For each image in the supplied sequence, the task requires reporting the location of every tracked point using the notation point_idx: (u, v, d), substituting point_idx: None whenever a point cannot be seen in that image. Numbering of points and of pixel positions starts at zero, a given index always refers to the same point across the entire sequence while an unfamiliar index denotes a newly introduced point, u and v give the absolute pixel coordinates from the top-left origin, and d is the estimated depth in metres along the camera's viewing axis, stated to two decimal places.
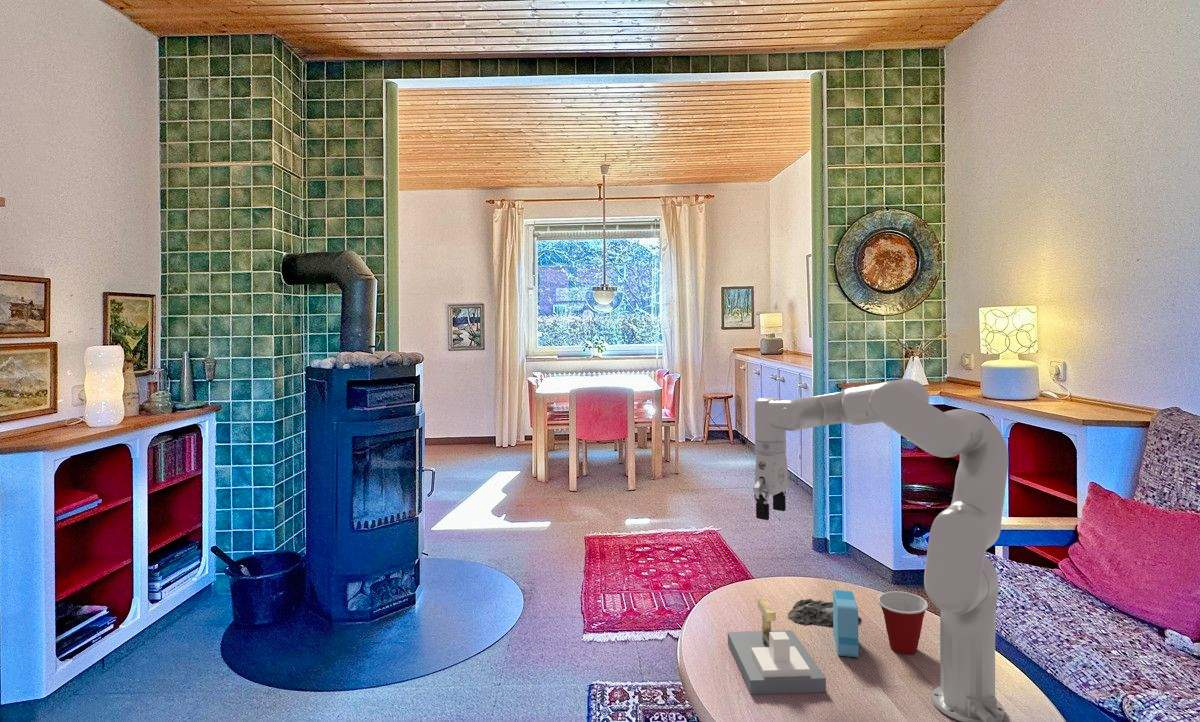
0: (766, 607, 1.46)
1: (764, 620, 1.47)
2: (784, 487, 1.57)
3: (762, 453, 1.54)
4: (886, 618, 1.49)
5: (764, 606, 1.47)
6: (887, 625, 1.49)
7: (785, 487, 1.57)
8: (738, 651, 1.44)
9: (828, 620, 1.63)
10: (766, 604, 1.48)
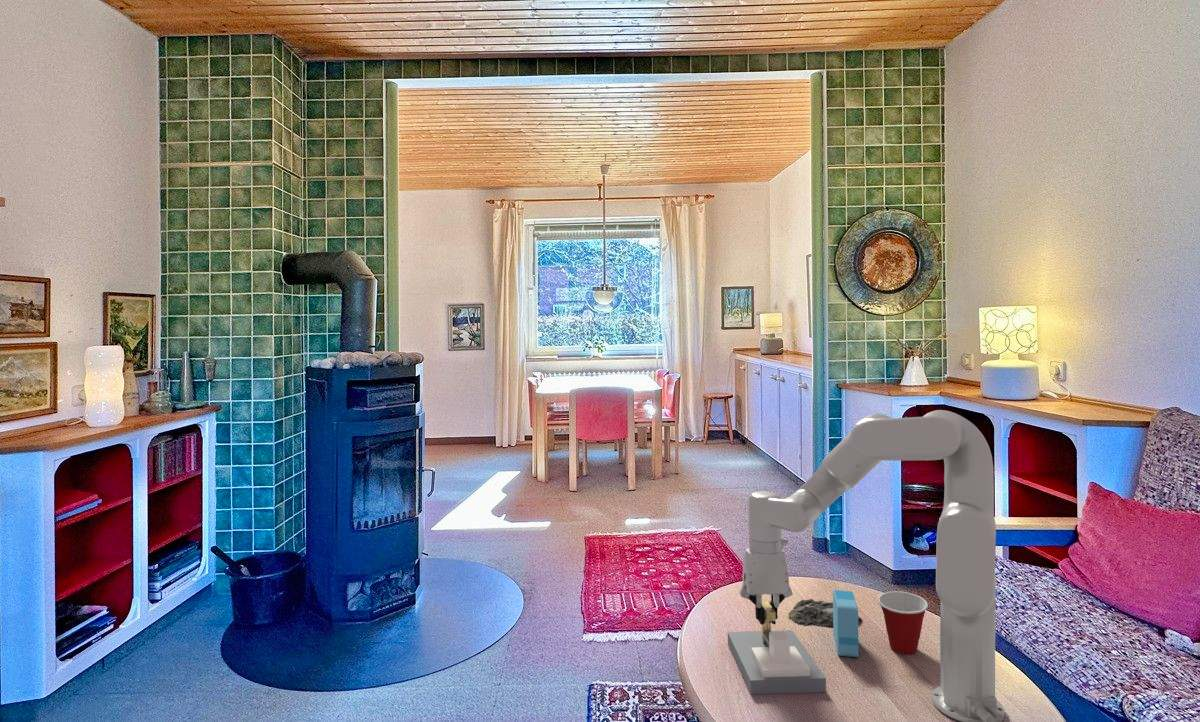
0: (766, 607, 1.46)
1: (764, 620, 1.47)
2: None
3: None
4: (886, 618, 1.49)
5: (764, 606, 1.47)
6: (887, 625, 1.49)
7: None
8: (738, 651, 1.44)
9: (828, 621, 1.63)
10: (766, 604, 1.48)
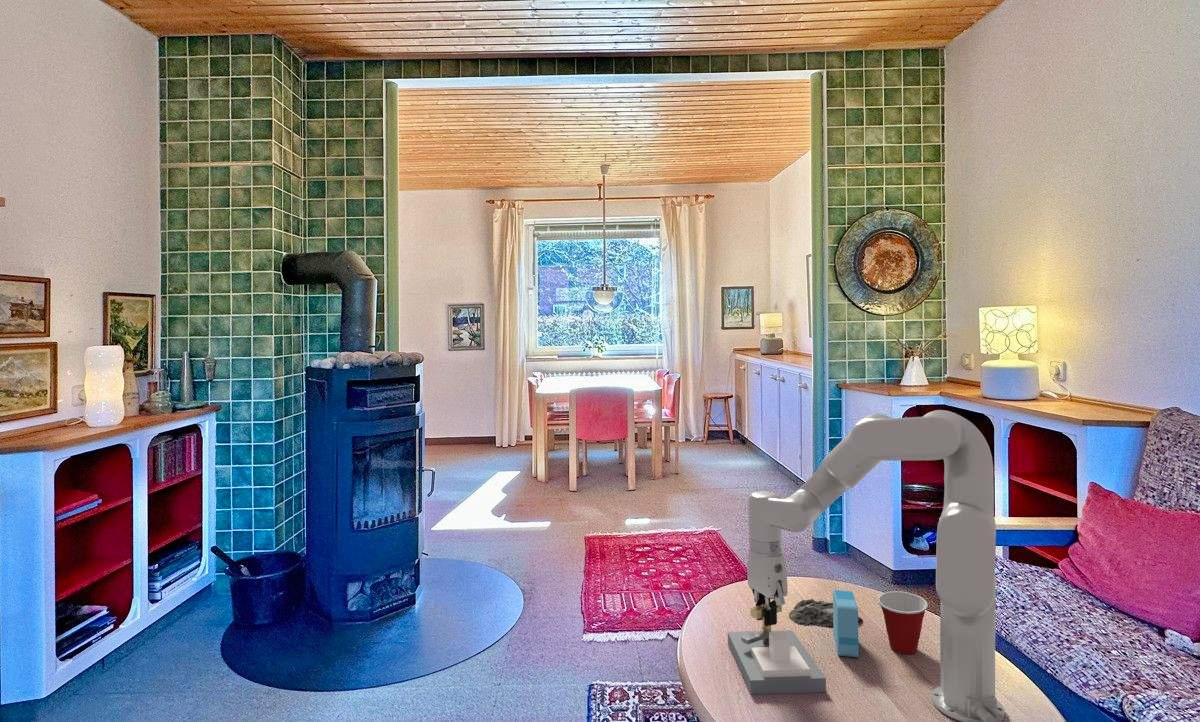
0: (761, 606, 1.47)
1: (762, 618, 1.48)
2: None
3: (773, 554, 1.44)
4: (886, 618, 1.49)
5: (762, 605, 1.48)
6: (887, 625, 1.49)
7: None
8: (738, 651, 1.44)
9: (828, 621, 1.62)
10: None
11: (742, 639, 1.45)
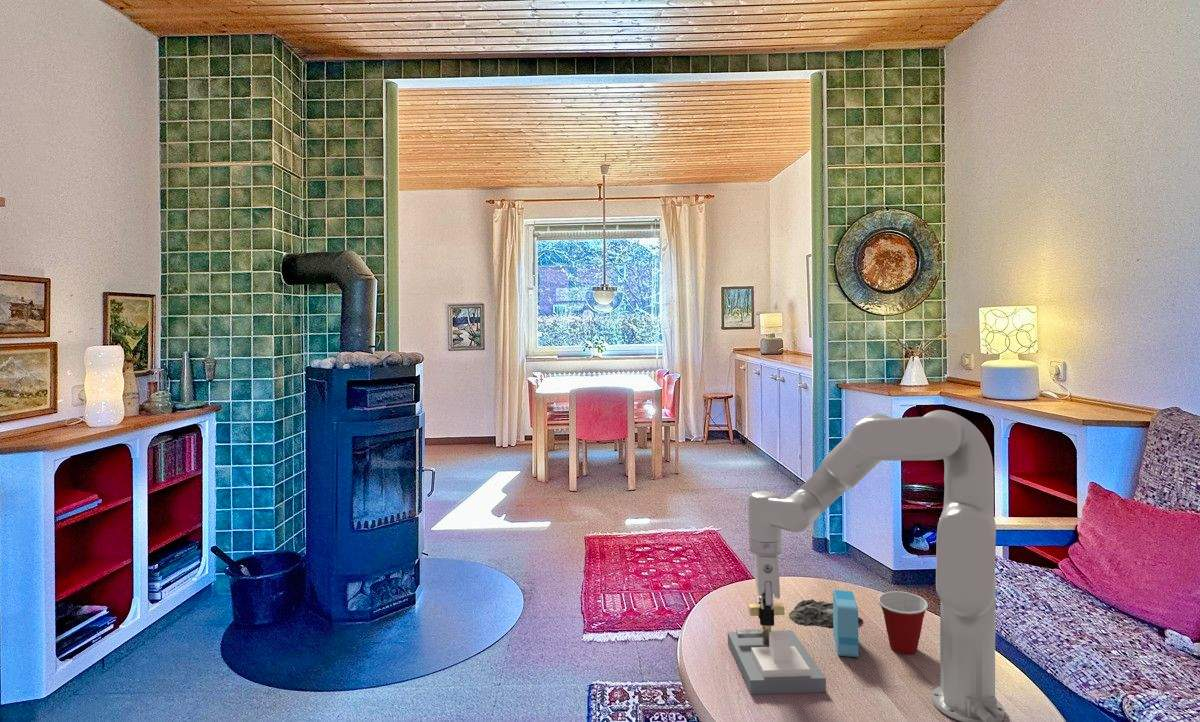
0: None
1: None
2: None
3: (765, 554, 1.44)
4: (886, 618, 1.49)
5: None
6: (887, 625, 1.49)
7: None
8: (738, 651, 1.44)
9: (828, 621, 1.62)
10: None
11: (736, 632, 1.48)
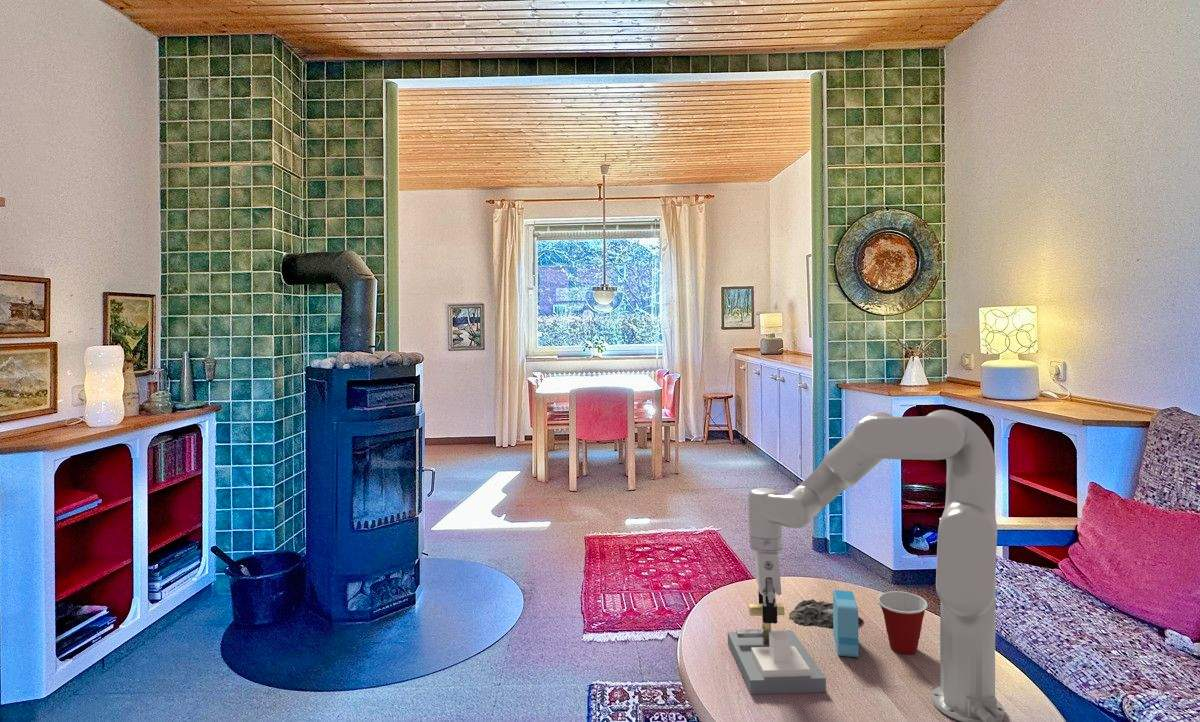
0: (761, 604, 1.48)
1: None
2: None
3: (765, 551, 1.44)
4: (886, 618, 1.49)
5: (763, 604, 1.48)
6: (887, 625, 1.49)
7: None
8: (738, 651, 1.44)
9: (829, 621, 1.62)
10: None
11: (736, 632, 1.48)
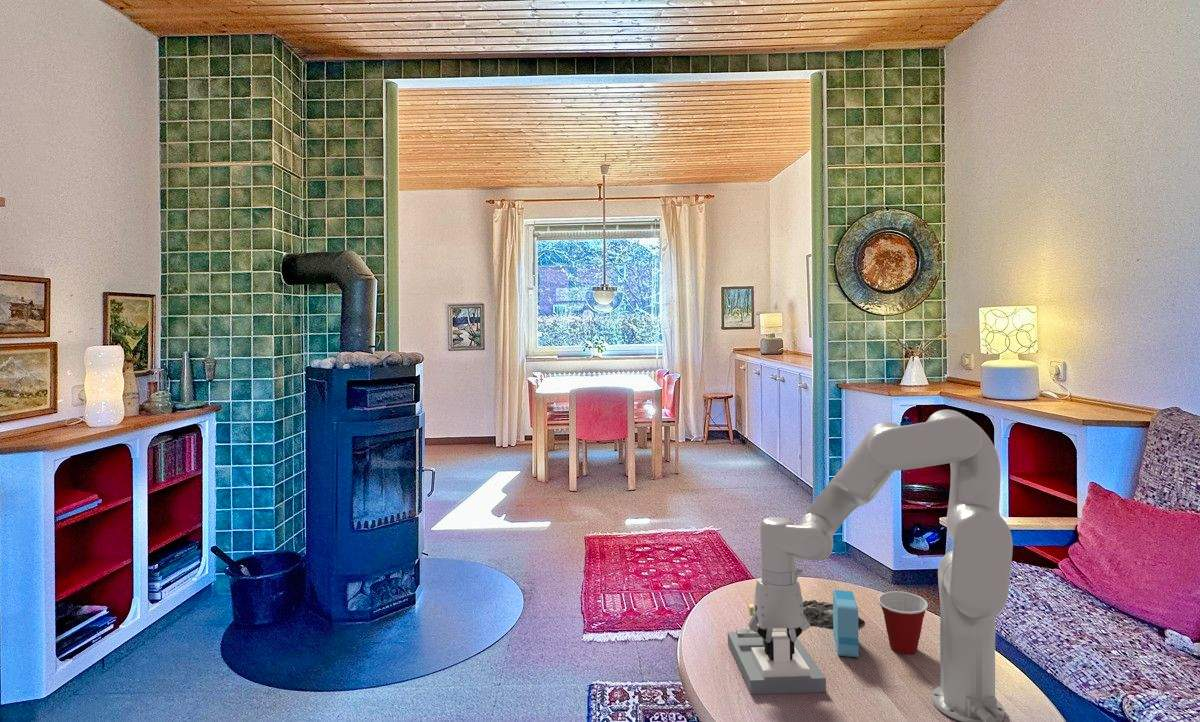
0: None
1: None
2: None
3: None
4: (886, 618, 1.49)
5: None
6: (887, 625, 1.49)
7: None
8: (738, 651, 1.44)
9: (829, 622, 1.62)
10: None
11: (736, 632, 1.48)
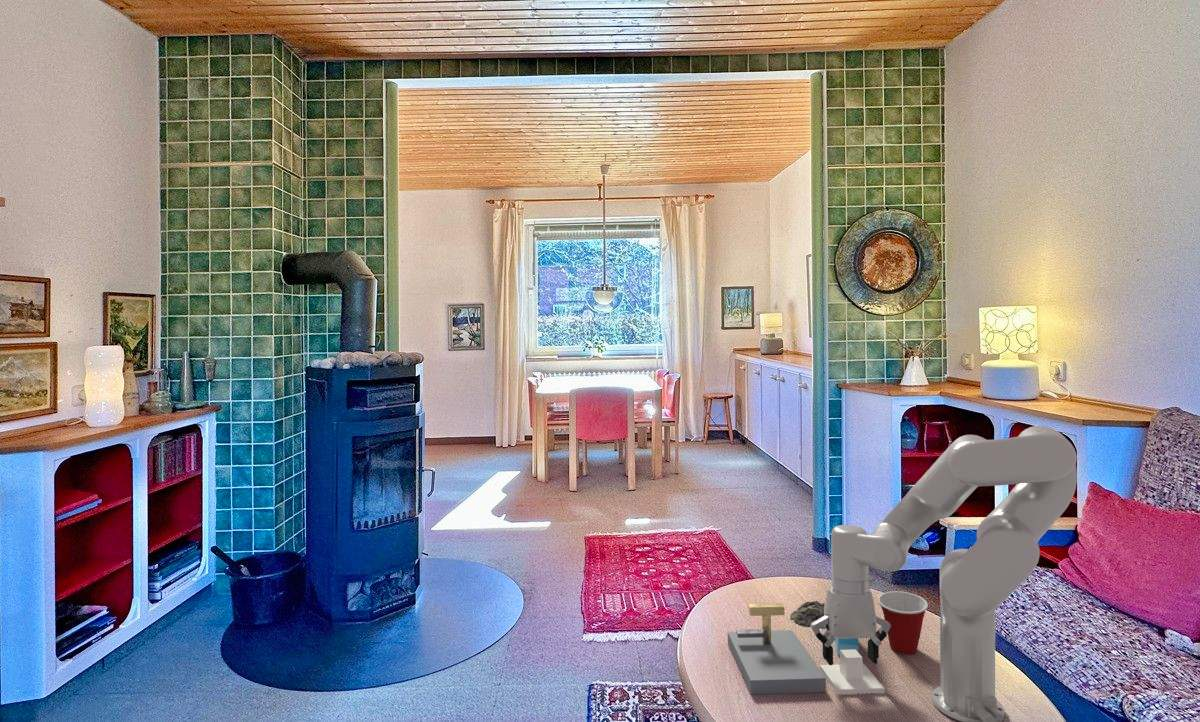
0: (761, 604, 1.48)
1: None
2: None
3: None
4: (886, 618, 1.49)
5: (763, 604, 1.48)
6: None
7: None
8: (738, 651, 1.44)
9: None
10: (768, 605, 1.47)
11: (736, 632, 1.48)
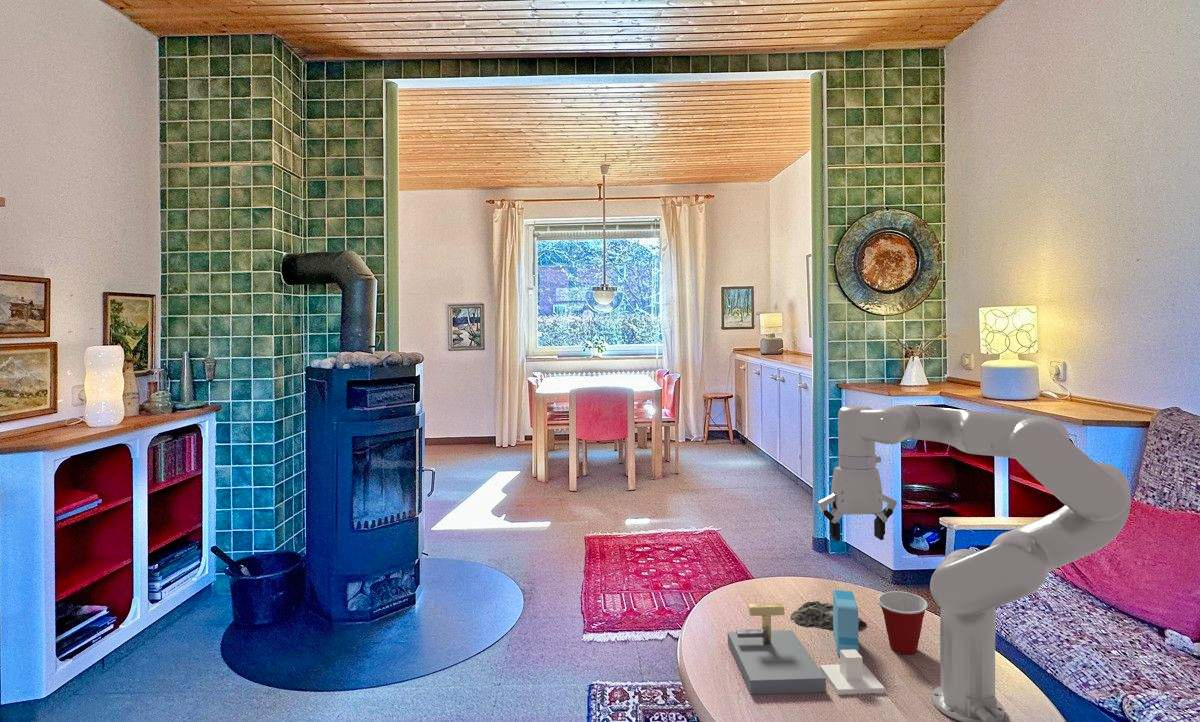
0: (761, 604, 1.48)
1: None
2: None
3: None
4: (886, 618, 1.49)
5: (763, 604, 1.48)
6: (887, 625, 1.49)
7: None
8: (738, 651, 1.44)
9: (830, 623, 1.61)
10: (768, 605, 1.47)
11: (736, 632, 1.48)
